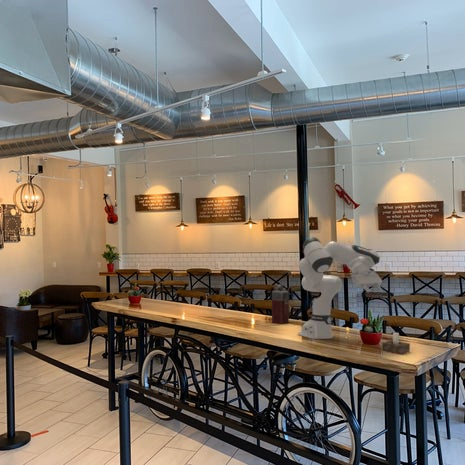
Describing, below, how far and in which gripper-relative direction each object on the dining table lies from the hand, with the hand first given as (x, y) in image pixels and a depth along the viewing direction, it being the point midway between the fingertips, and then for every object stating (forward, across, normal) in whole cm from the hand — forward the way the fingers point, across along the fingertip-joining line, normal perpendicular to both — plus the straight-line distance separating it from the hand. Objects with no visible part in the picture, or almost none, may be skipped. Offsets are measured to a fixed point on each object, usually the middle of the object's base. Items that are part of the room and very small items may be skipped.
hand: (374, 291), depth 260 cm
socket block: (+33, -1, +11) cm, 35 cm away
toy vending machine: (-37, -2, +82) cm, 89 cm away
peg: (+33, -1, +11) cm, 35 cm away
